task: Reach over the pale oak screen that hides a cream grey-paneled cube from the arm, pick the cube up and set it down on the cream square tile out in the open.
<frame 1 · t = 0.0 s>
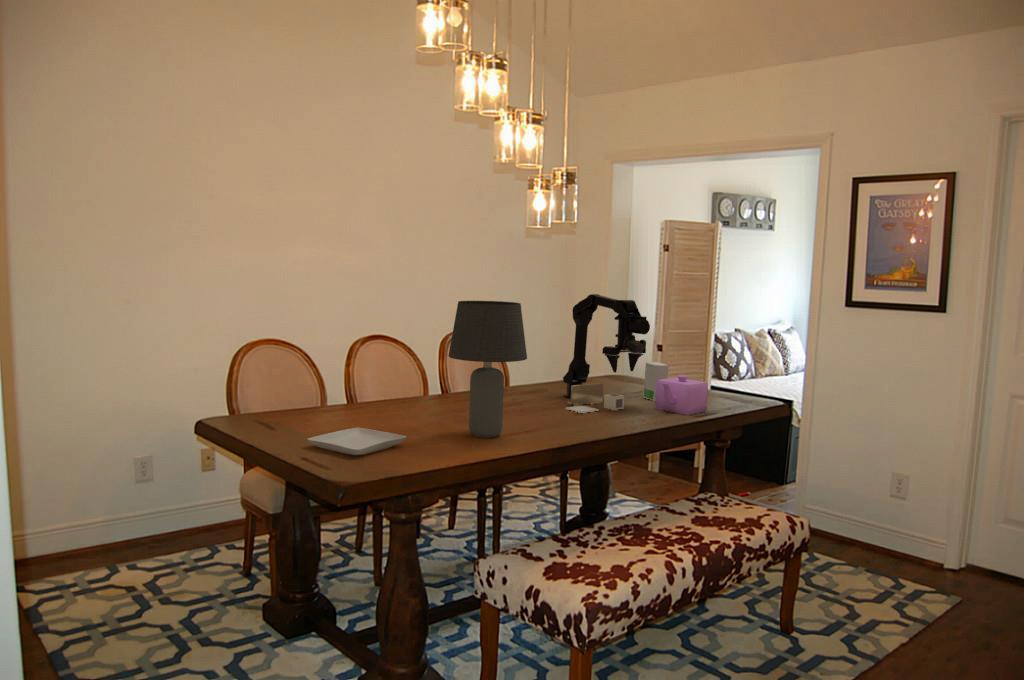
hand: (623, 371, 298), 15 cm above the table, tool pointing down, fingers open, 9 cm apart
cream square tile: (582, 410, 293), on the table
lamp: (485, 436, 245), on the table
salad plate: (357, 448, 225), on the table
oak screen: (586, 404, 307), on the table
skincare box: (654, 400, 323), on the table
violet knobbed box: (678, 411, 299), on the table
cream grey-paneled cube: (613, 409, 299), on the table
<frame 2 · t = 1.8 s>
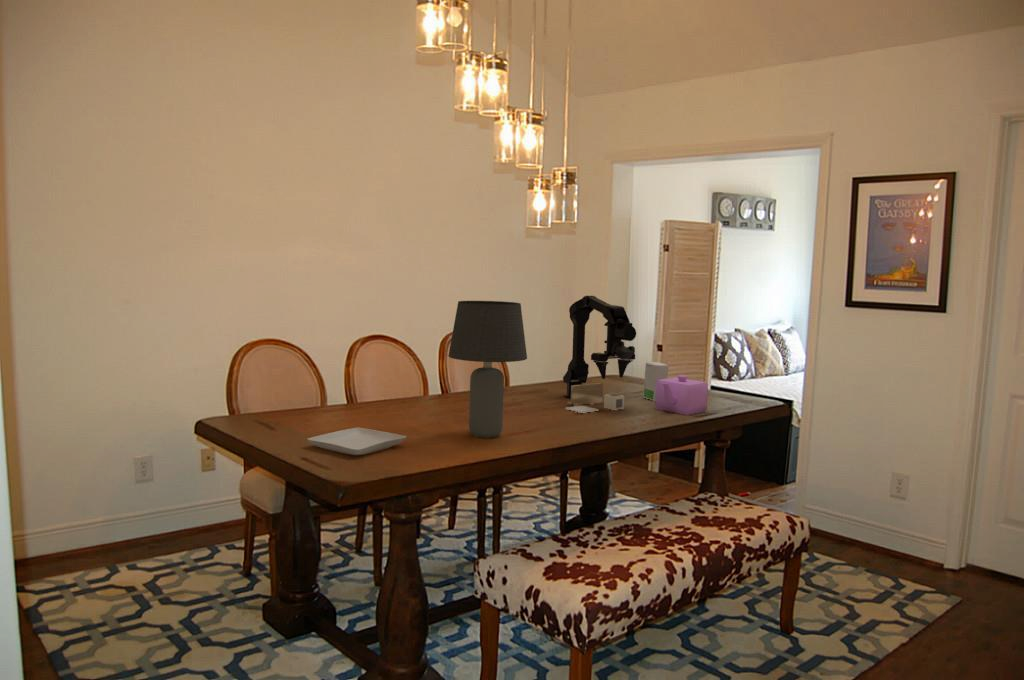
hand: (612, 378, 297), 12 cm above the table, tool pointing down, fingers open, 9 cm apart
nothing on the table moved.
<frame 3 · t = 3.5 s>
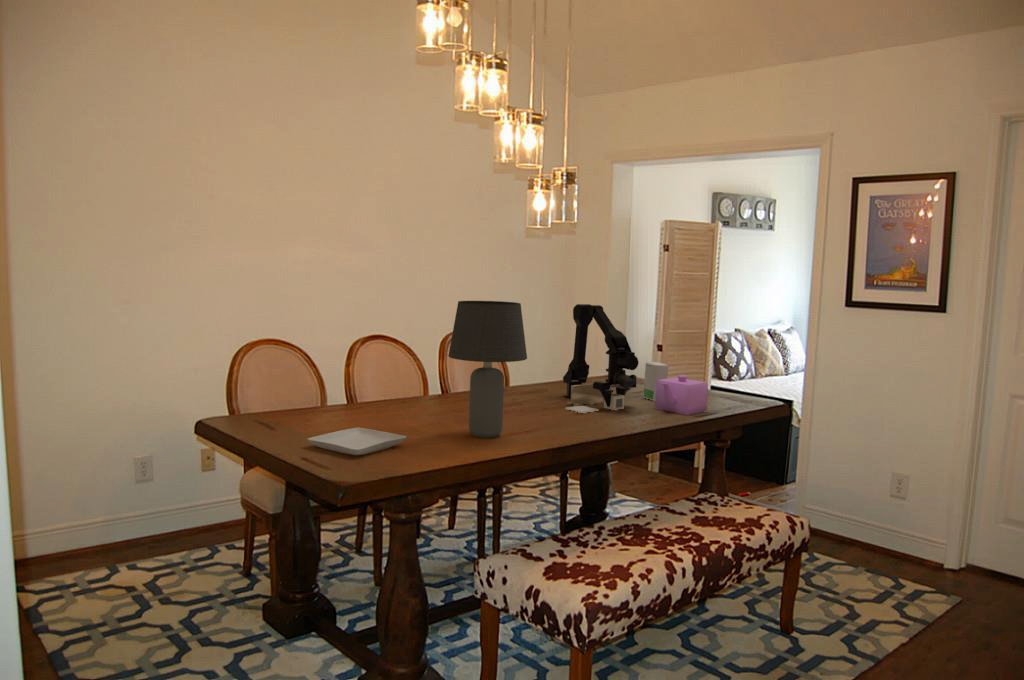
hand: (613, 406, 299), 1 cm above the table, tool pointing down, fingers closed on cream grey-paneled cube, 5 cm apart
cream grey-paneled cube: (613, 408, 299), on the table, touching gripper
everything else where it was.
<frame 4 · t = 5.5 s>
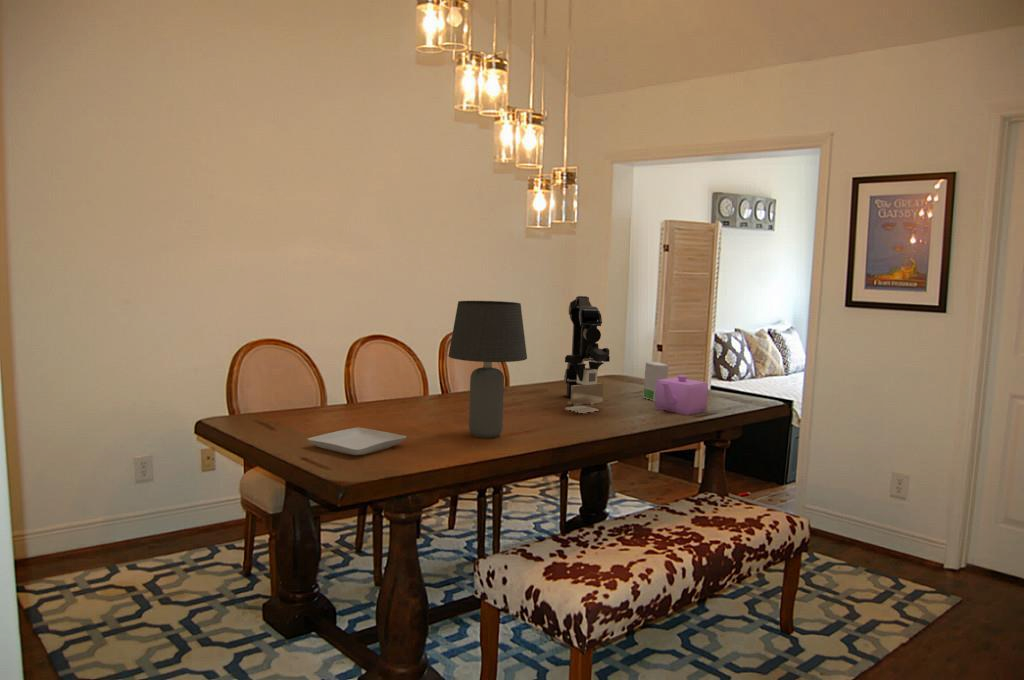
hand: (586, 380, 292), 12 cm above the table, tool pointing down, fingers closed on cream grey-paneled cube, 5 cm apart
cream grey-paneled cube: (586, 383, 292), point 11 cm above the table, touching gripper
everything else where it was.
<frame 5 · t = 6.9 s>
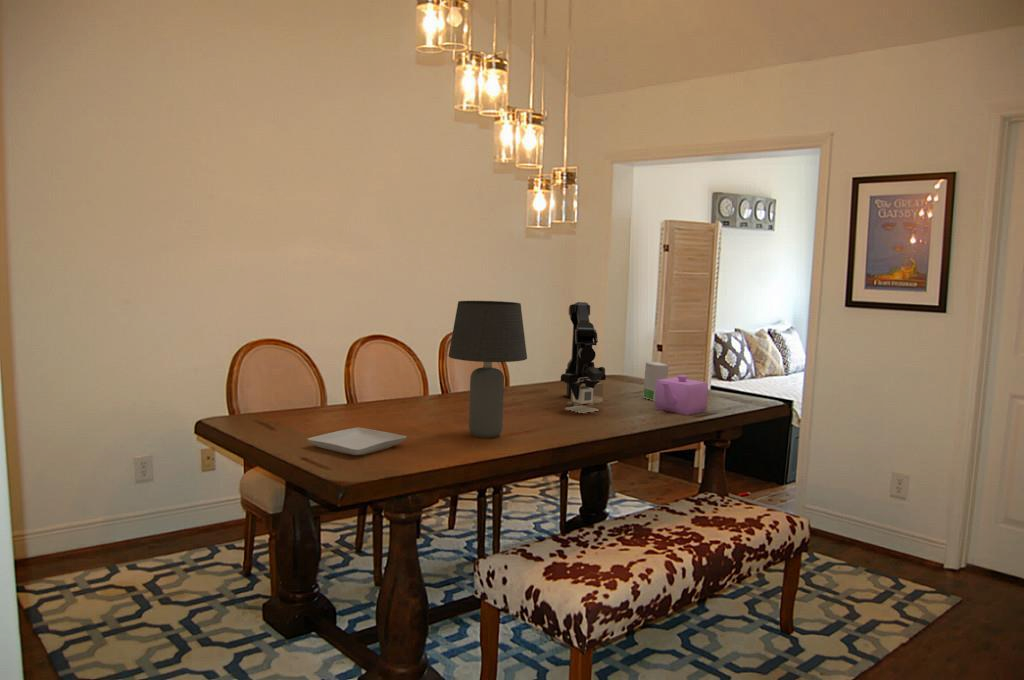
hand: (582, 399, 292), 4 cm above the table, tool pointing down, fingers closed on cream grey-paneled cube, 5 cm apart
cream grey-paneled cube: (582, 401, 292), point 3 cm above the table, touching gripper
everything else where it was.
when the fingers open (3 cm above the table, at t = 7.7 s): cream grey-paneled cube drops 1 cm, resting on cream square tile.
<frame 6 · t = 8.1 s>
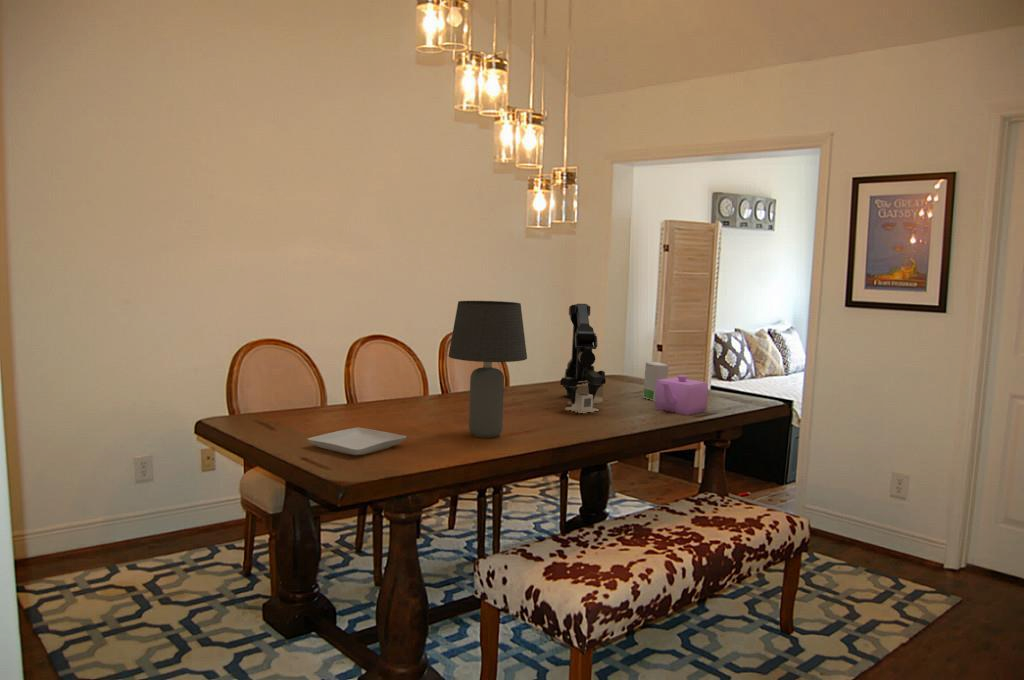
hand: (582, 402, 292), 3 cm above the table, tool pointing down, fingers open, 9 cm apart
cream grey-paneled cube: (582, 408, 293), point 1 cm above the table, touching cream square tile
everything else where it was.
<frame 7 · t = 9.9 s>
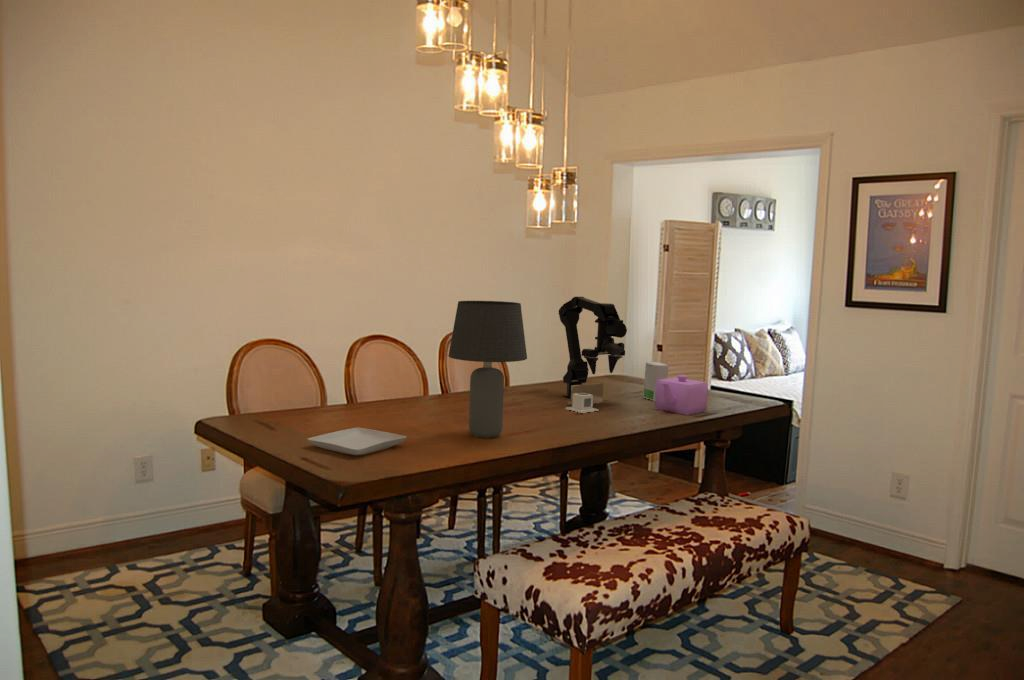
hand: (602, 373, 305), 13 cm above the table, tool pointing down, fingers open, 9 cm apart
nothing on the table moved.
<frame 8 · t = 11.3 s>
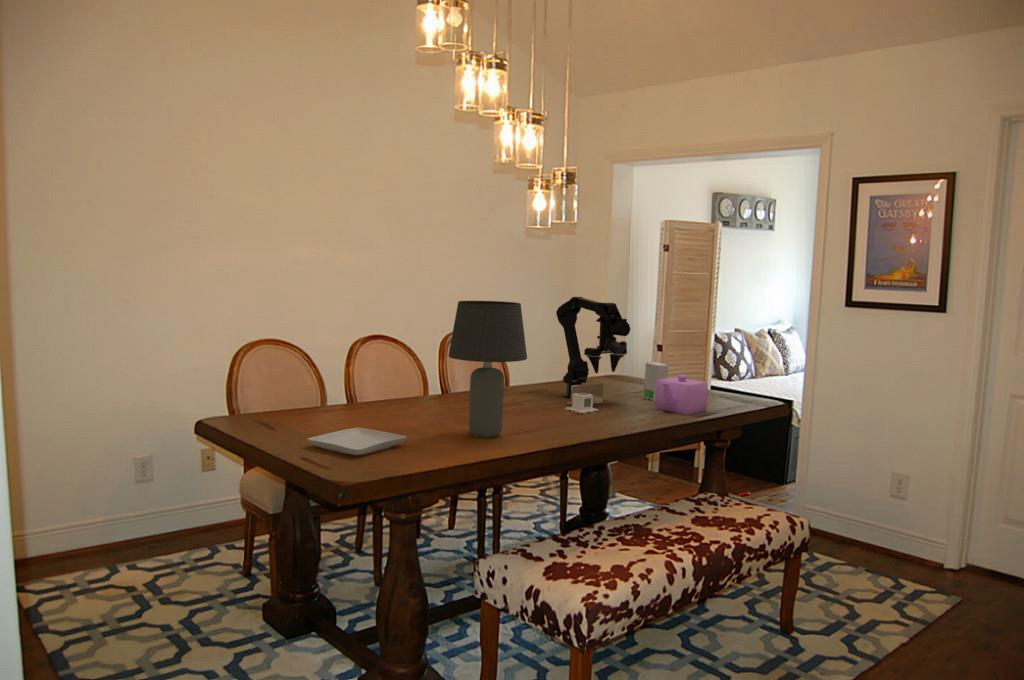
hand: (604, 372, 306), 13 cm above the table, tool pointing down, fingers open, 9 cm apart
nothing on the table moved.
at the end: cream grey-paneled cube inside the target area on the cream square tile (0.0 cm from its centre), point 0.8 cm above the cream square tile's base; cream grey-paneled cube tilted 0°; the gripper is holding nothing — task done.
